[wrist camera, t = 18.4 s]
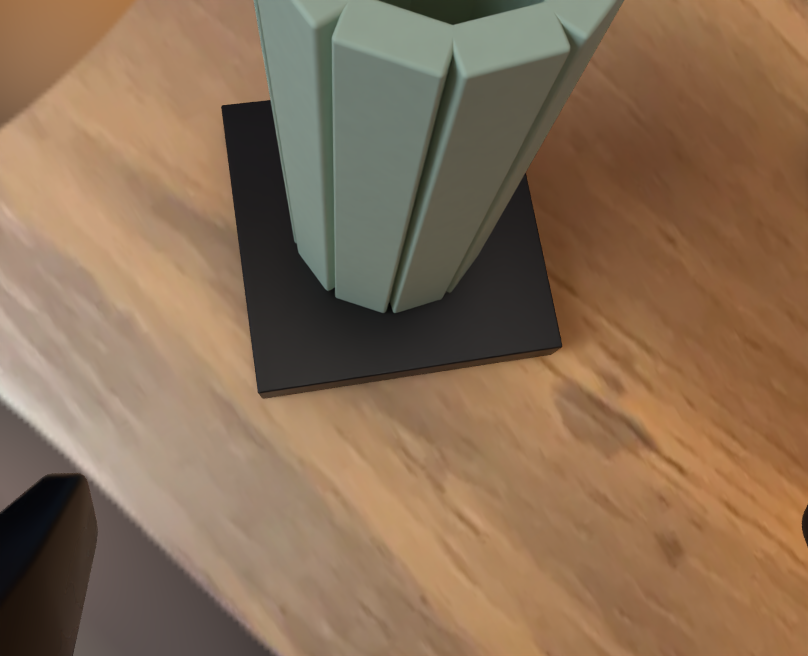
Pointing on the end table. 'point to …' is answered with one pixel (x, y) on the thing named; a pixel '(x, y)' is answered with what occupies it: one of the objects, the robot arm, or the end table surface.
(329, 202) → the sleeve
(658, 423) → the end table surface
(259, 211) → the black stand base
